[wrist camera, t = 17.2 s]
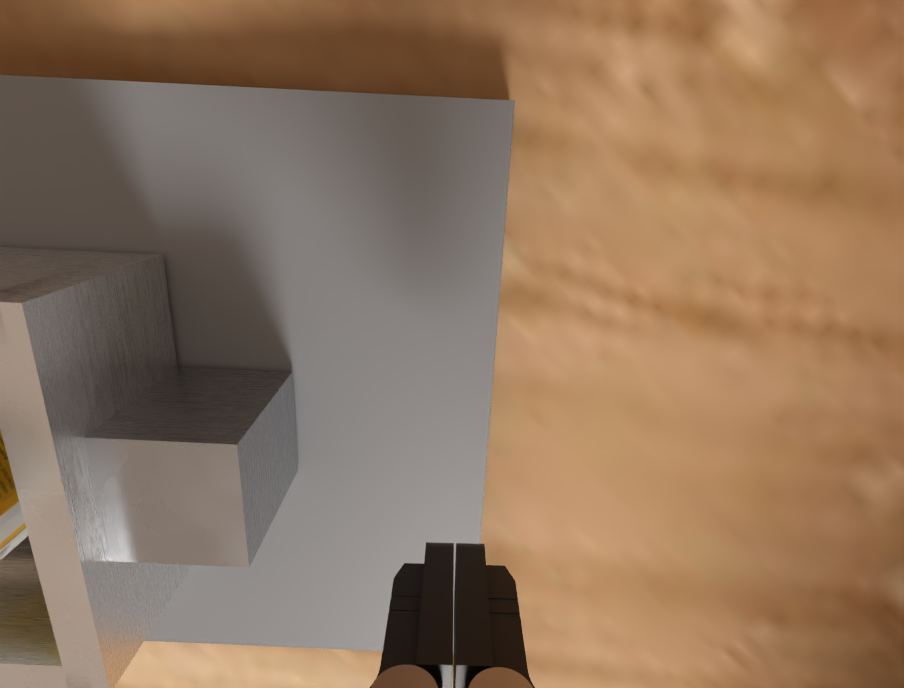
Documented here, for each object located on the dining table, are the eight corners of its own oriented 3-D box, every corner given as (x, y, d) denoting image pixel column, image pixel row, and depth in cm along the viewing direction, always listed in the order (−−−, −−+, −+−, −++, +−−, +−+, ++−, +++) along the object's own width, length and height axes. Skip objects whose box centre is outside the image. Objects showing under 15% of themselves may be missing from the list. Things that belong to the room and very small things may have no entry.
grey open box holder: (302, 555, 21) (246, 699, 16) (-39, 539, 21) (-217, 679, 16) (286, 260, 18) (204, 311, 12) (-132, 240, 17) (-415, 282, 12)
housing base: (470, 626, 25) (472, 699, 22) (-54, 603, 25) (-133, 672, 21) (510, 104, 17) (522, 93, 14) (-236, 67, 17) (-400, 47, 14)
